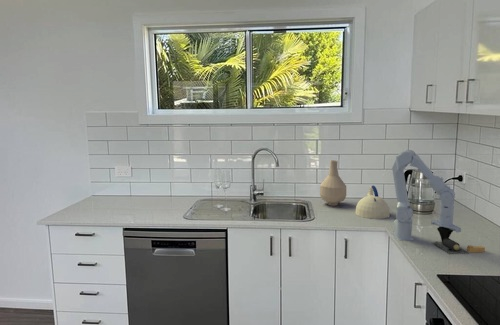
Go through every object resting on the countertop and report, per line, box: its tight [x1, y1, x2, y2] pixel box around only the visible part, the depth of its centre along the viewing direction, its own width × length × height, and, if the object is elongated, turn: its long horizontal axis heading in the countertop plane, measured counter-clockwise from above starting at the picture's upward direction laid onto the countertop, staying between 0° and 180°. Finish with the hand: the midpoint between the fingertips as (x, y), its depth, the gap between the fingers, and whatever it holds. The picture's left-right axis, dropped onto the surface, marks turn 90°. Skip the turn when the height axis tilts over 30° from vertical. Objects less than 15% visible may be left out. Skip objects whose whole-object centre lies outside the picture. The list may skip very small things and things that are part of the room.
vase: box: [319, 160, 347, 207], centre depth 256 cm, size 18×18×30 cm
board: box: [431, 240, 470, 255], centre depth 171 cm, size 24×10×2 cm, turn 5°
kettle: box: [355, 185, 390, 220], centre depth 232 cm, size 20×21×18 cm
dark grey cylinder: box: [443, 237, 461, 251], centre depth 173 cm, size 7×4×4 cm, turn 8°
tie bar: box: [466, 244, 486, 253], centre depth 170 cm, size 2×7×3 cm, turn 95°
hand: (444, 242), depth 179 cm, fingers closed
